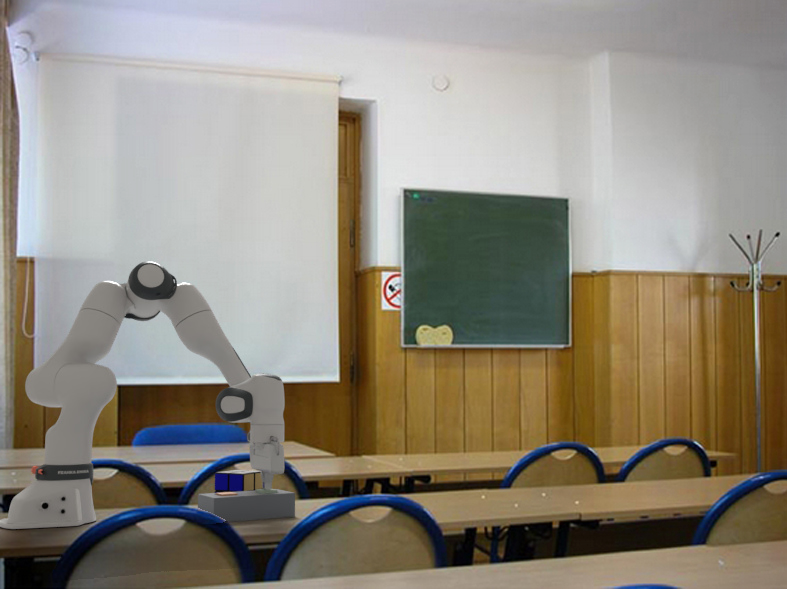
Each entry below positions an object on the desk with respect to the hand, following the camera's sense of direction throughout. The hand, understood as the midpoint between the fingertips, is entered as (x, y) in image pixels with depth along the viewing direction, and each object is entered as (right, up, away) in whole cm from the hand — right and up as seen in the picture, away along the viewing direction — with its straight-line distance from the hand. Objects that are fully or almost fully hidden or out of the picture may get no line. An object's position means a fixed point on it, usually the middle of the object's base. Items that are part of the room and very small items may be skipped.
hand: (266, 489), depth 242 cm
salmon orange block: (-9, -5, -7) cm, 13 cm away
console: (-5, -6, -4) cm, 9 cm away
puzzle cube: (-10, -9, +15) cm, 20 cm away
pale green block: (0, -6, -1) cm, 6 cm away
